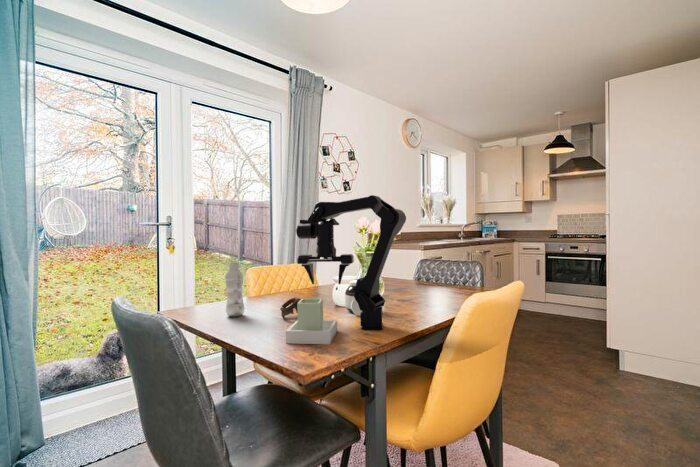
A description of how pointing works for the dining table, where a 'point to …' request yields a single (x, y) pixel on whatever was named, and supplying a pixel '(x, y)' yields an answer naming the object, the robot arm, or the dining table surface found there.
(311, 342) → the grey crate
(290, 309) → the pottery mug
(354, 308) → the spread jar
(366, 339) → the dining table surface
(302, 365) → the dining table surface
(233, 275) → the plastic bottle
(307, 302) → the green crate
